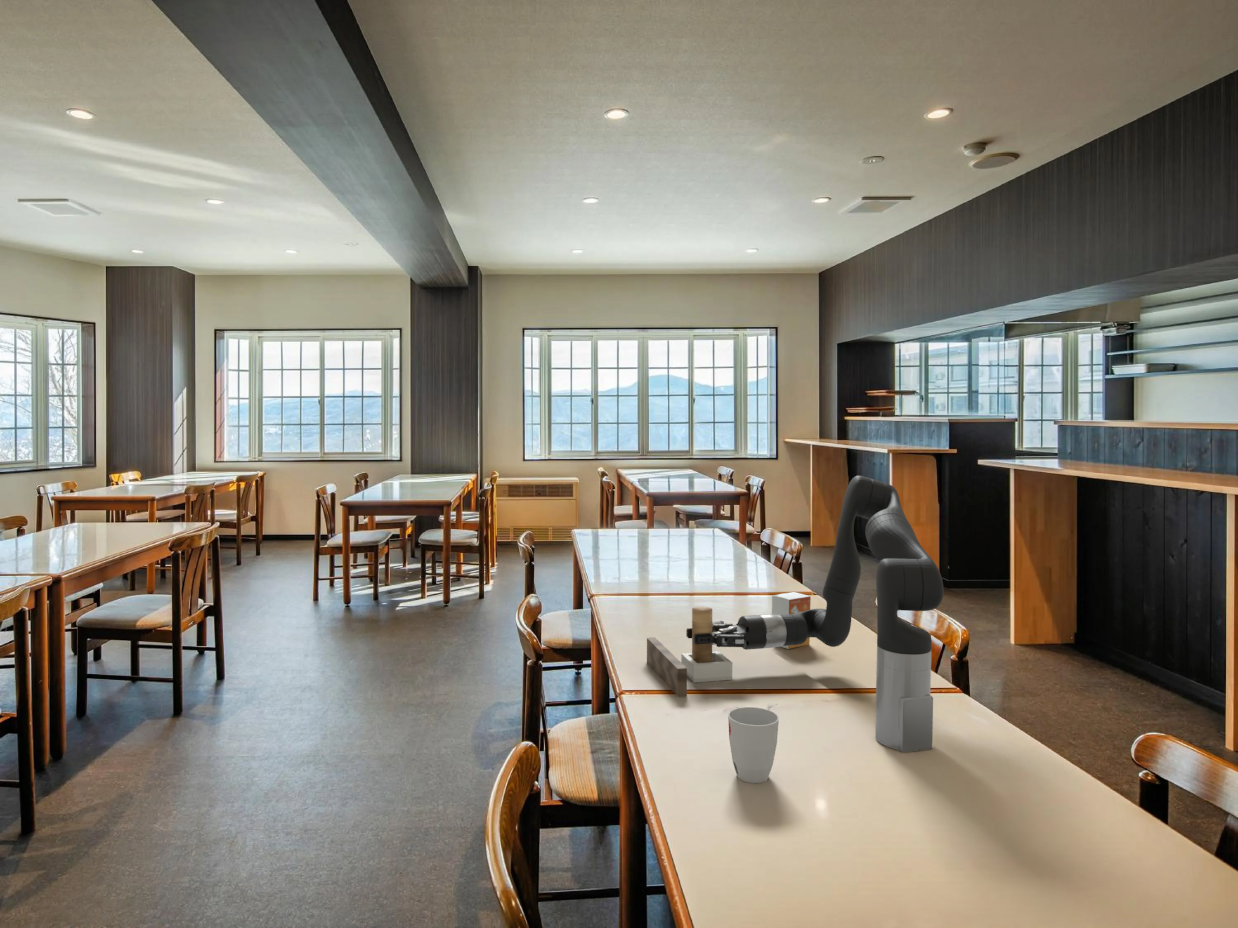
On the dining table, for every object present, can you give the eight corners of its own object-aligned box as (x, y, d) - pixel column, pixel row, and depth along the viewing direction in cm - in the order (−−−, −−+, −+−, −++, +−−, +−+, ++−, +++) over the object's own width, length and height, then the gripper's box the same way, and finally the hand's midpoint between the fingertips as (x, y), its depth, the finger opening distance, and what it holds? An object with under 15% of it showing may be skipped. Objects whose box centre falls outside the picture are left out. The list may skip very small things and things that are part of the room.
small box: (788, 649, 197) (789, 599, 197) (770, 643, 203) (771, 594, 202) (810, 644, 202) (811, 595, 201) (792, 639, 207) (793, 591, 206)
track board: (766, 694, 164) (766, 662, 164) (676, 702, 159) (676, 668, 159) (725, 661, 187) (725, 632, 187) (645, 666, 183) (645, 637, 182)
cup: (743, 760, 132) (744, 703, 131) (786, 774, 126) (787, 714, 126) (718, 777, 125) (718, 716, 125) (762, 792, 120) (763, 729, 120)
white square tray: (732, 679, 170) (732, 662, 170) (693, 682, 168) (694, 665, 168) (718, 667, 179) (718, 650, 179) (681, 669, 177) (681, 653, 177)
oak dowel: (715, 672, 172) (715, 610, 171) (695, 674, 171) (695, 611, 170) (708, 666, 176) (708, 606, 175) (689, 668, 175) (689, 607, 174)
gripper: (749, 608, 183) (680, 612, 179) (775, 623, 169) (700, 627, 165) (749, 639, 183) (680, 643, 179) (774, 656, 169) (700, 662, 166)
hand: (690, 636), depth 172 cm, fingers closed on oak dowel, 4 cm apart
